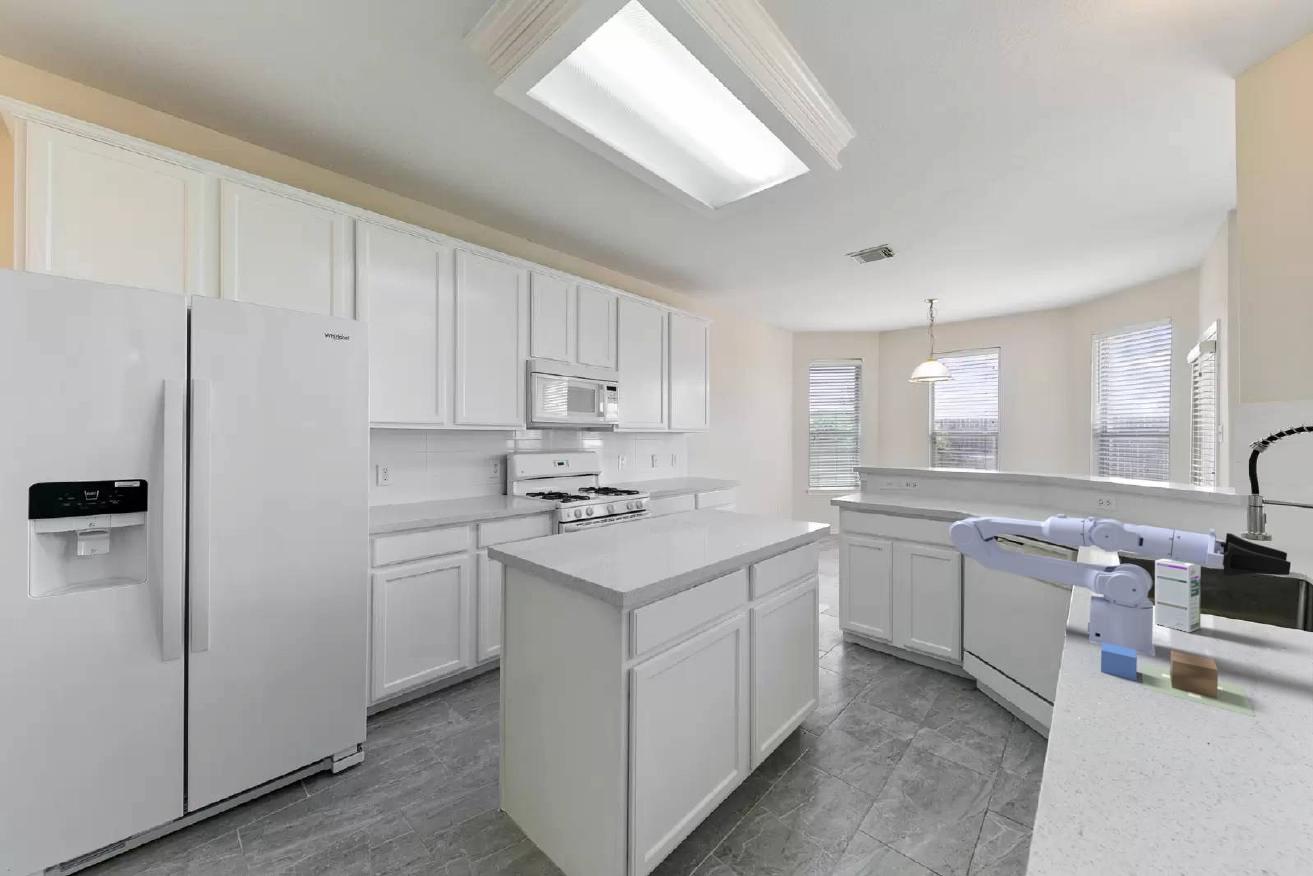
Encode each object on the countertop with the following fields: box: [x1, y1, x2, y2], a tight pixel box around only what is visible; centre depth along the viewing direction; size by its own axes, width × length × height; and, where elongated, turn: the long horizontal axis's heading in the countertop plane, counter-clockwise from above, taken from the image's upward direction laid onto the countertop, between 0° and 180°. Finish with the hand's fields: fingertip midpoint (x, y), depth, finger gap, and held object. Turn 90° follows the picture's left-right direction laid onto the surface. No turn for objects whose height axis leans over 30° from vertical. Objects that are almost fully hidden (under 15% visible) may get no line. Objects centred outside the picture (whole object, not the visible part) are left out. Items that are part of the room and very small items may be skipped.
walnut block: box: [1169, 650, 1219, 699], centre depth 84 cm, size 5×5×4 cm
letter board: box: [1141, 663, 1256, 718], centre depth 84 cm, size 12×12×1 cm
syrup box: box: [1154, 558, 1202, 633], centre depth 111 cm, size 6×6×14 cm
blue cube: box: [1100, 642, 1138, 681], centre depth 89 cm, size 4×4×4 cm
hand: (1288, 563), depth 86 cm, fingers open, 7 cm apart
